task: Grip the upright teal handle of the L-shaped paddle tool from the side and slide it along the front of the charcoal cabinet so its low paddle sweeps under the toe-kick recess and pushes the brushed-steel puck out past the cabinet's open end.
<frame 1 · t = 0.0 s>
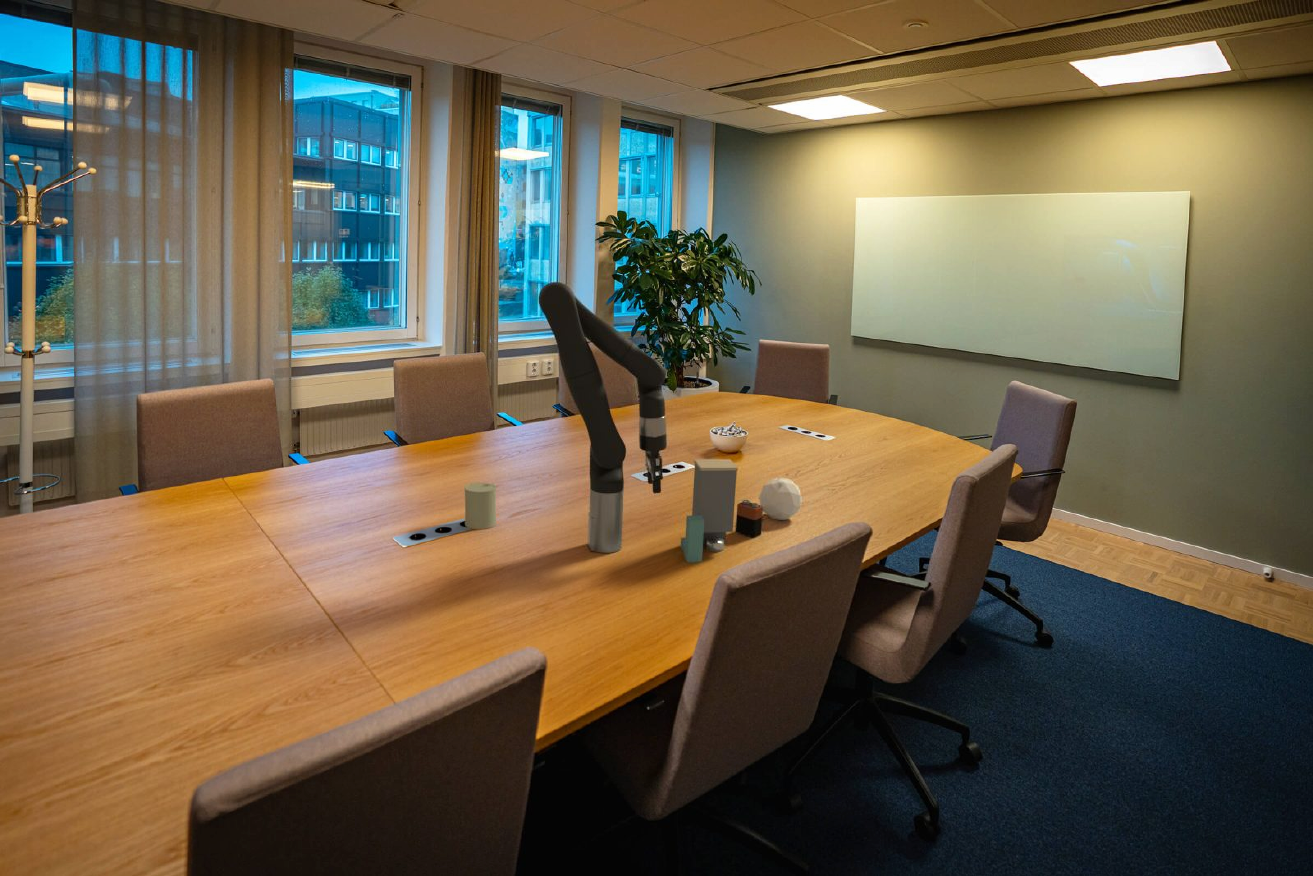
hand: (654, 488, 224), 17 cm above the table, tool pointing down, fingers open, 8 cm apart
cabinet: (710, 547, 229), on the table
battery: (748, 534, 241), on the table
can: (480, 524, 240), on the table
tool: (693, 559, 220), on the table
geodesic sphere: (778, 518, 256), on the table
puck: (714, 548, 229), on the table
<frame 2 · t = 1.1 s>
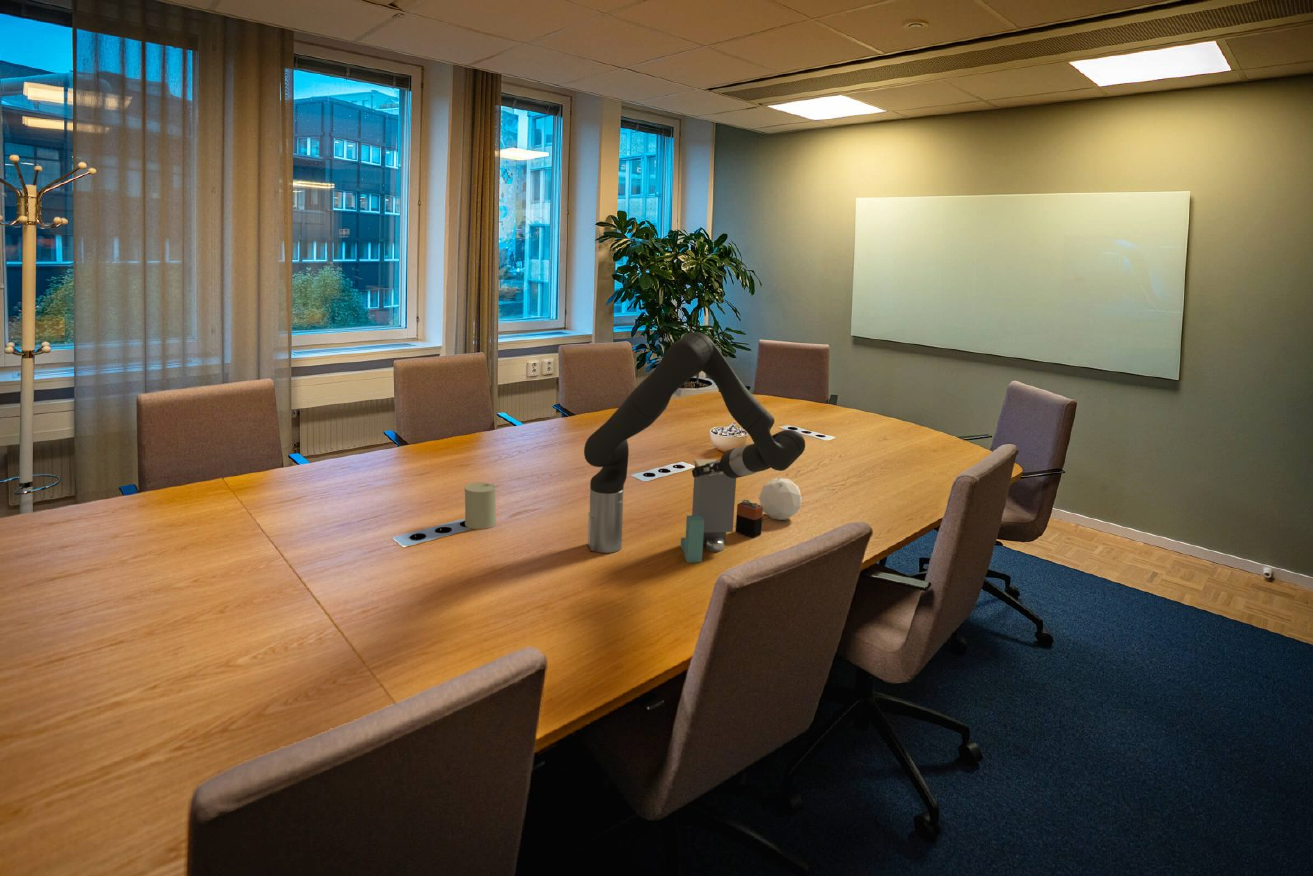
hand: (706, 471, 216), 25 cm above the table, tool tilted 65°, fingers open, 8 cm apart
nothing on the table moved.
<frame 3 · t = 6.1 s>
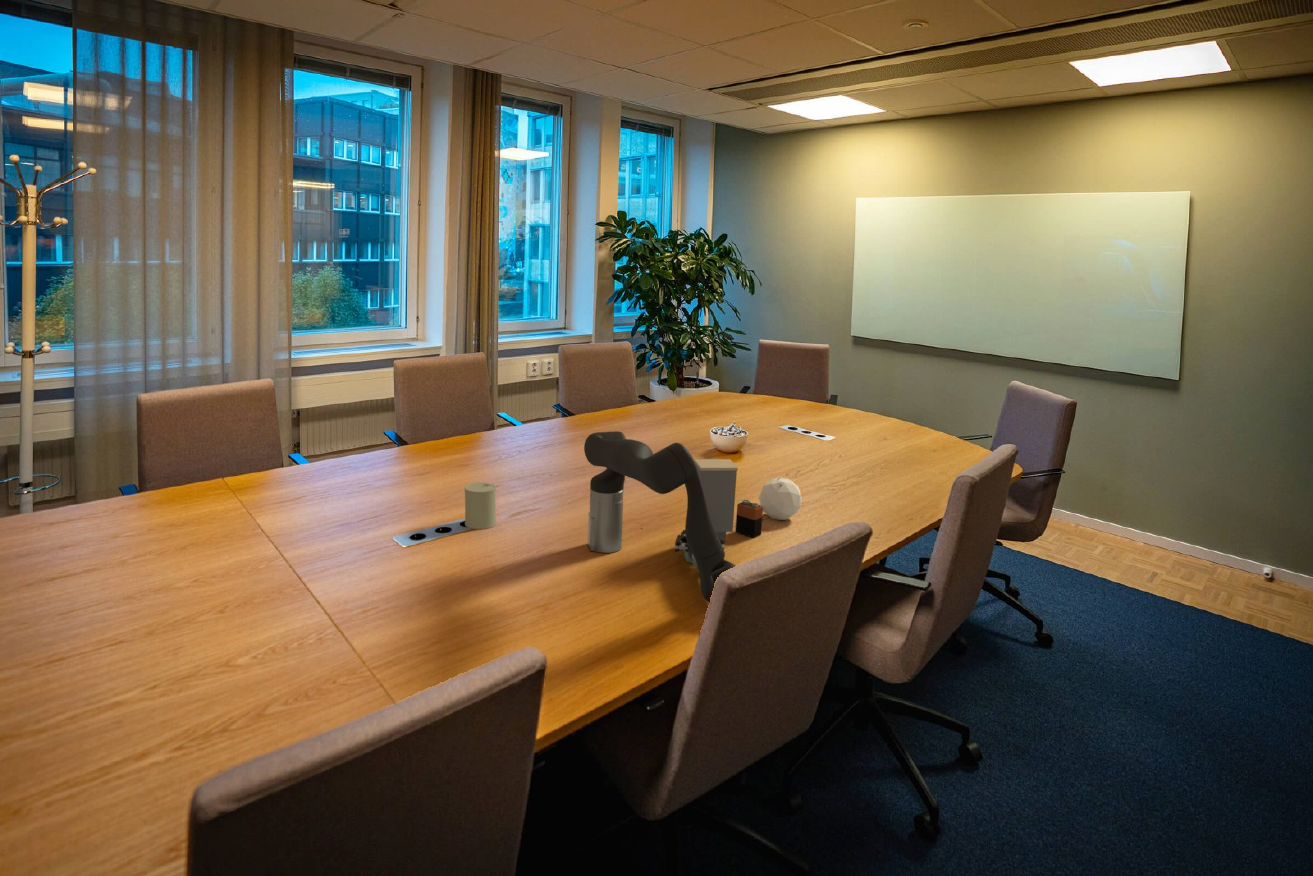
hand: (692, 533, 221), 7 cm above the table, tool horizontal, fingers closed on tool, 4 cm apart
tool: (693, 559, 220), on the table, touching gripper
everything else where it was.
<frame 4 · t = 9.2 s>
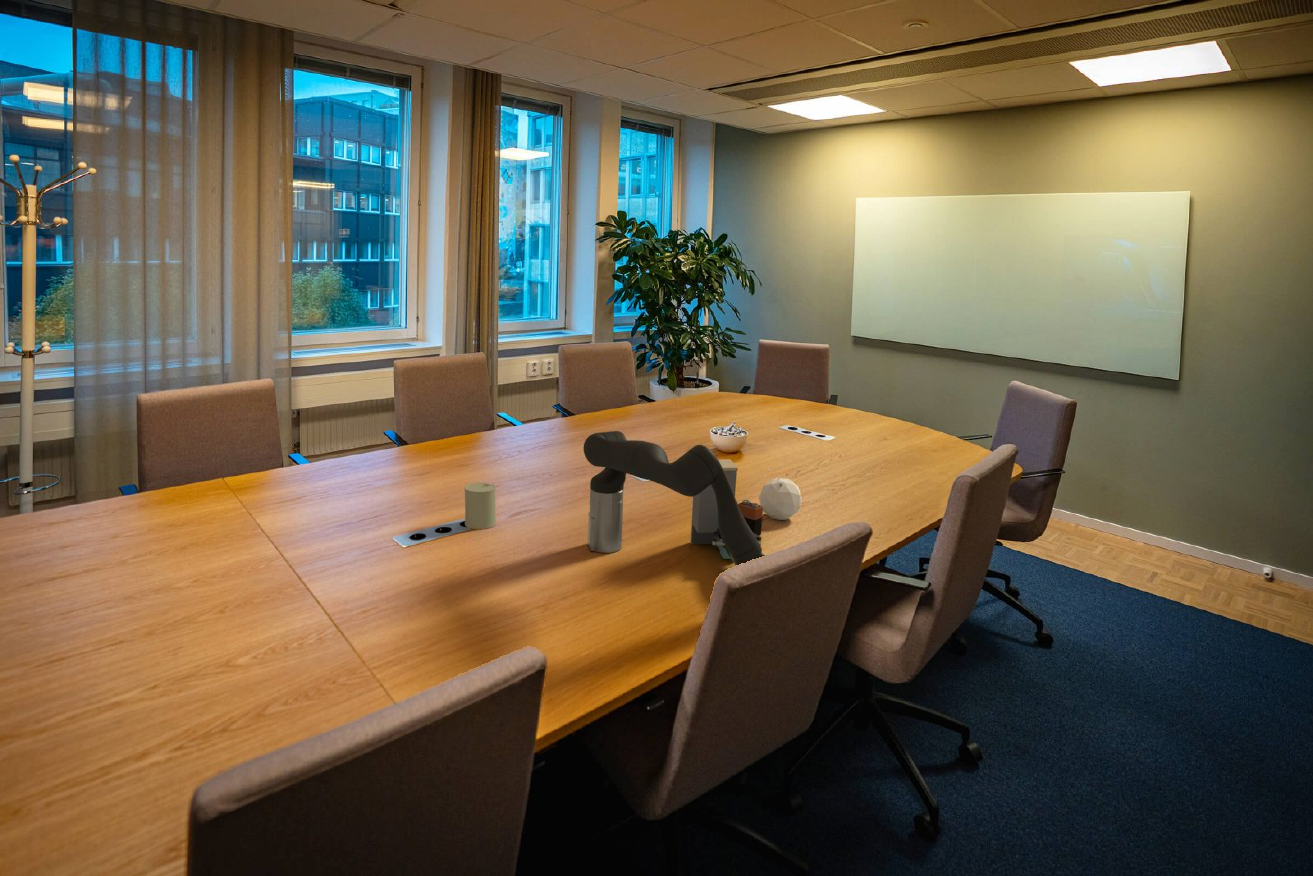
hand: (727, 529, 222), 7 cm above the table, tool horizontal, fingers closed on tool, 4 cm apart
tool: (728, 555, 221), point 1 cm above the table, touching gripper
puck: (735, 547, 230), on the table
everything else where it was.
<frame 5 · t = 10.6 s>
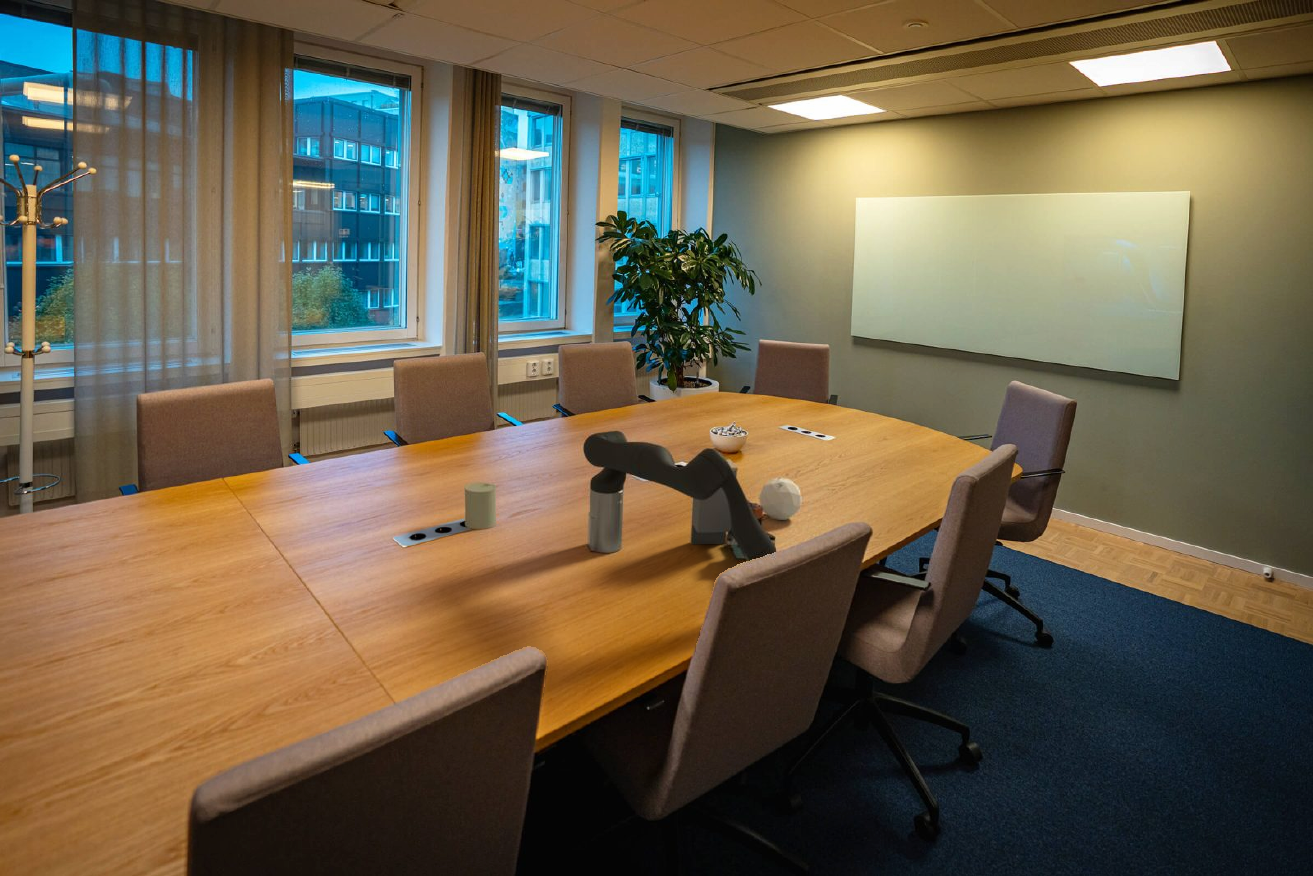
hand: (741, 529, 223), 7 cm above the table, tool horizontal, fingers closed on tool, 4 cm apart
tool: (742, 555, 222), point 1 cm above the table, touching gripper
puck: (748, 547, 230), on the table
everything else where it was.
when the fingers open (7 cm above the table, at t = 11.6 s): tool stays where it is, on the table.
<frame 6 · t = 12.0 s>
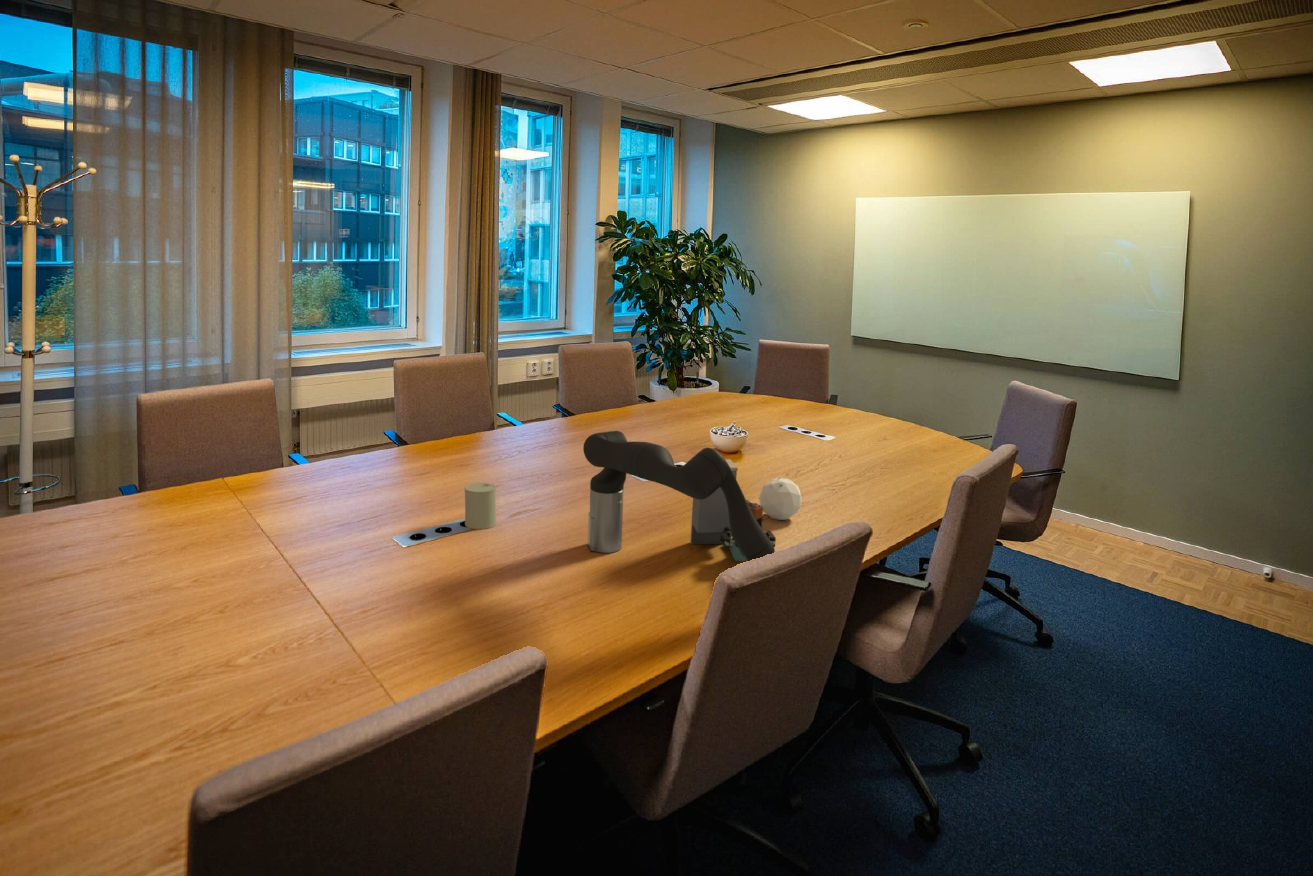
hand: (740, 529, 222), 8 cm above the table, tool horizontal, fingers open, 8 cm apart
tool: (740, 558, 222), on the table
everything else where it was.
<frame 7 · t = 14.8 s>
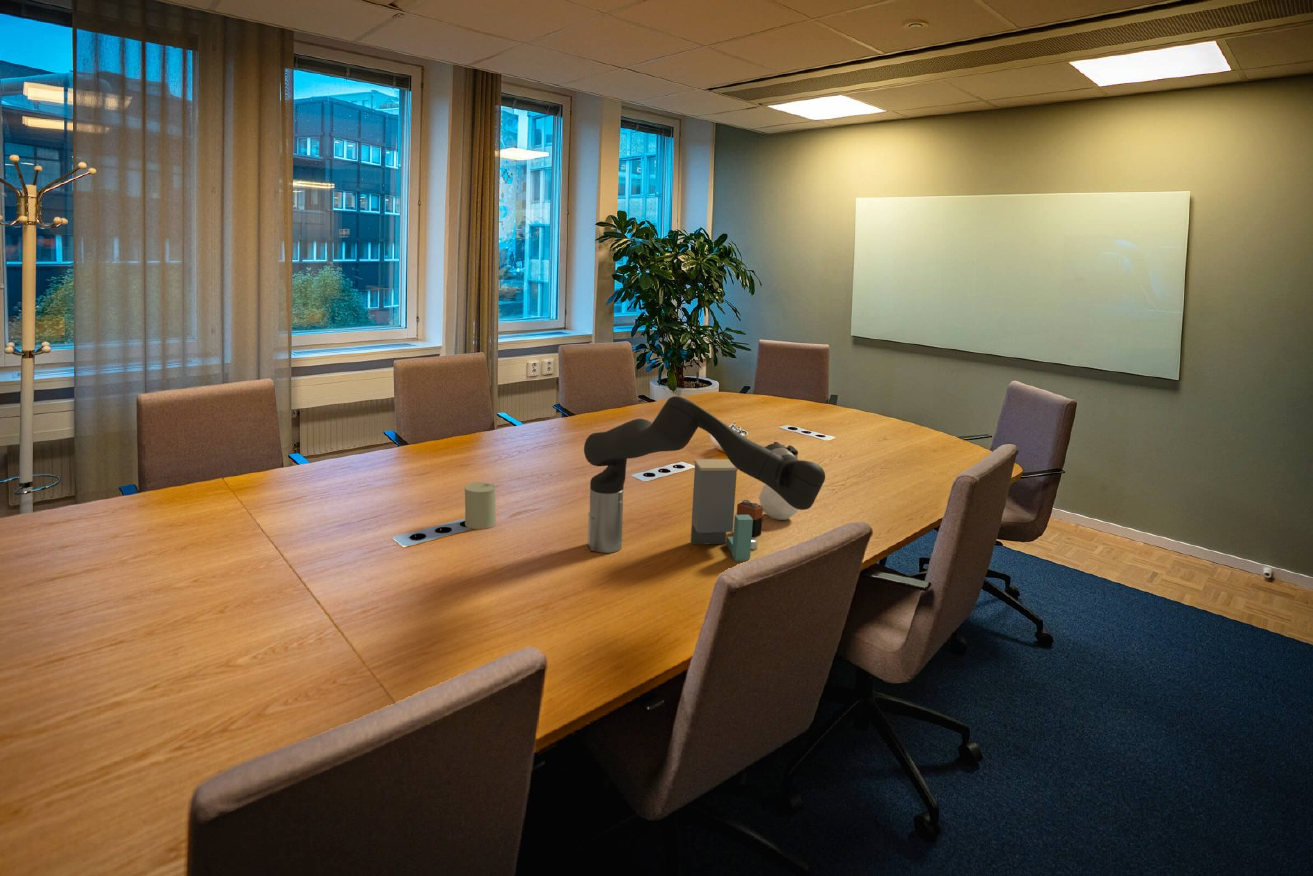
hand: (758, 445, 205), 35 cm above the table, tool horizontal, fingers open, 8 cm apart
nothing on the table moved.
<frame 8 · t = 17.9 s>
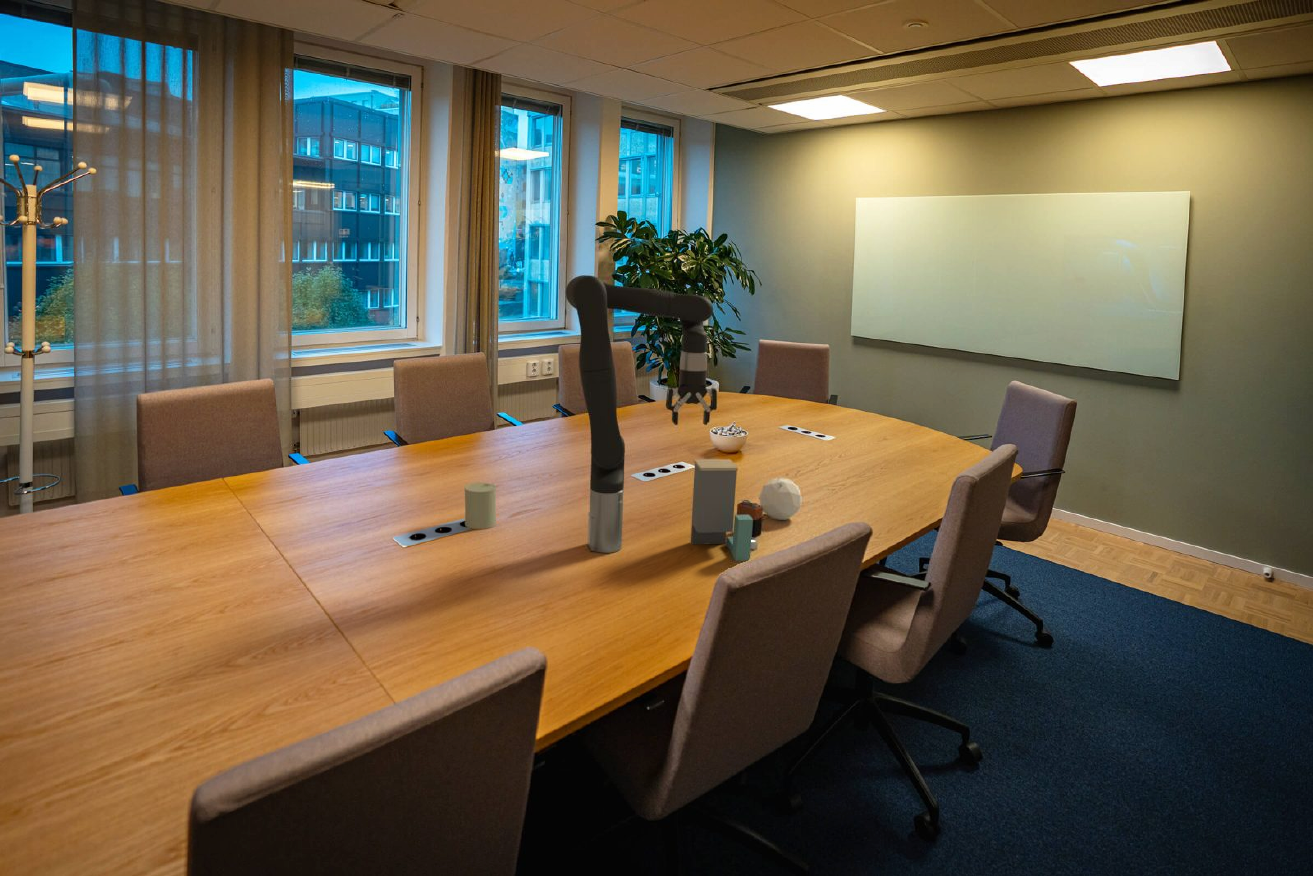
hand: (690, 424, 228), 34 cm above the table, tool pointing down, fingers open, 8 cm apart
nothing on the table moved.
at the end: puck inside the target area (8.5 cm from its centre), on the table; the gripper is holding nothing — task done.
